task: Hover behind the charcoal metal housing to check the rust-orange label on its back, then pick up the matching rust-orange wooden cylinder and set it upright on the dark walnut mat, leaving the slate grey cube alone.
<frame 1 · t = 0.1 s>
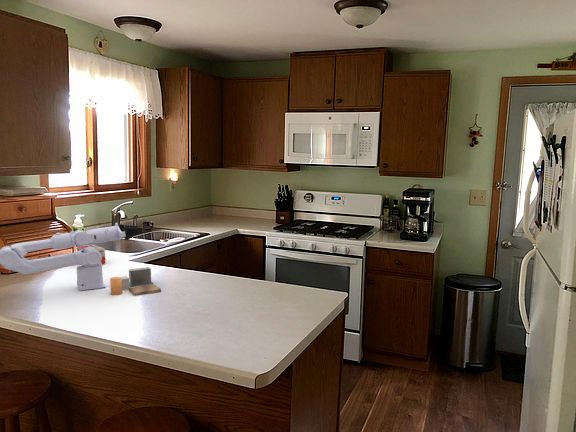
hand: (139, 229, 197), 22 cm above the countertop, tool horizontal, fingers open, 7 cm apart
medicine box: (91, 263, 234), on the countertop
housing: (140, 284, 193), on the countertop
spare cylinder: (116, 293, 180), on the countertop
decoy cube: (123, 289, 187), on the countertop
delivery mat: (144, 290, 184), on the countertop
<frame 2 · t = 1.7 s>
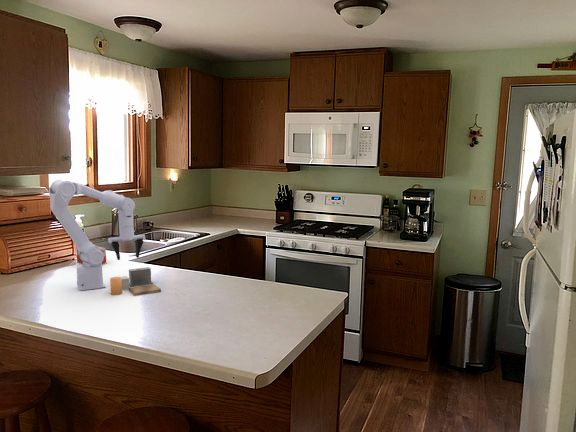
hand: (128, 258, 199), 9 cm above the countertop, tool pointing down, fingers open, 7 cm apart
nothing on the countertop moved.
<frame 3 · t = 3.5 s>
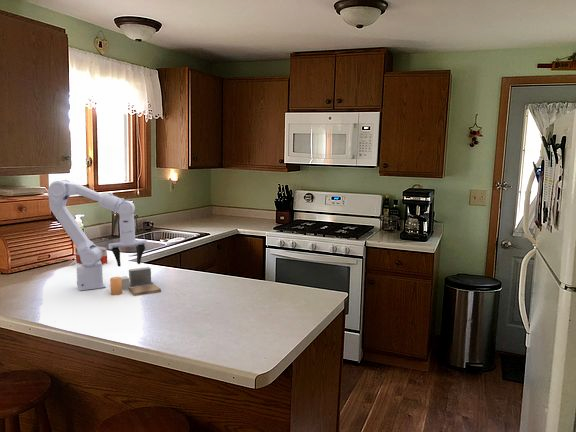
hand: (129, 264, 191), 8 cm above the countertop, tool pointing down, fingers open, 7 cm apart
nothing on the countertop moved.
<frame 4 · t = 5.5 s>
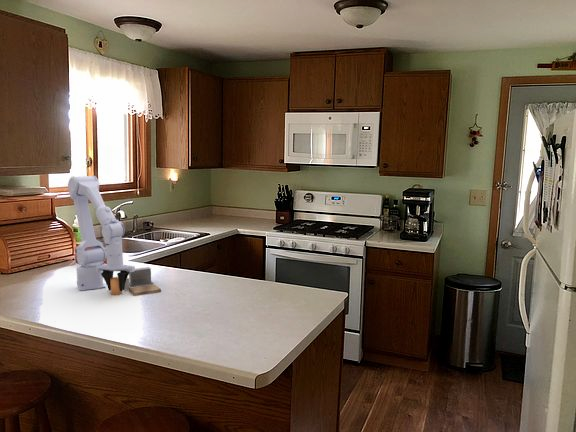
hand: (116, 289, 180), 1 cm above the countertop, tool pointing down, fingers closed on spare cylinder, 4 cm apart
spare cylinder: (116, 293, 180), on the countertop, touching gripper
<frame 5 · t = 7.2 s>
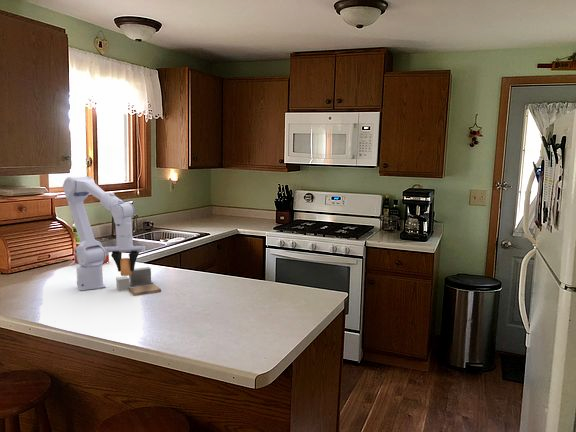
hand: (126, 270, 180), 8 cm above the countertop, tool pointing down, fingers closed on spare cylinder, 4 cm apart
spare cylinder: (126, 274, 180), point 7 cm above the countertop, touching gripper
when the fingers open (4 cm above the countertop, at t = 8.8 s): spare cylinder drops 1 cm, resting on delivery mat.
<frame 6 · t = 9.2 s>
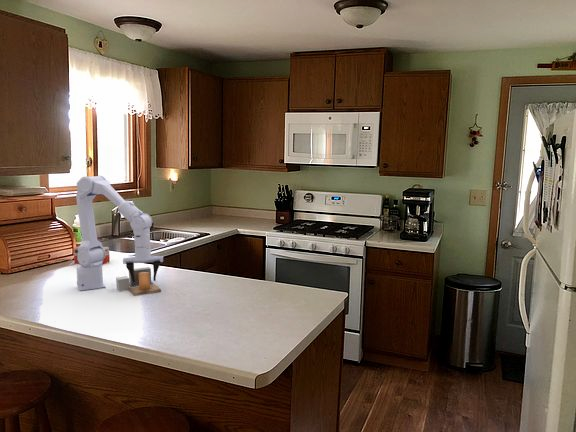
hand: (144, 281, 183), 4 cm above the countertop, tool pointing down, fingers open, 7 cm apart
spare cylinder: (144, 288, 183), point 1 cm above the countertop, touching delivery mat
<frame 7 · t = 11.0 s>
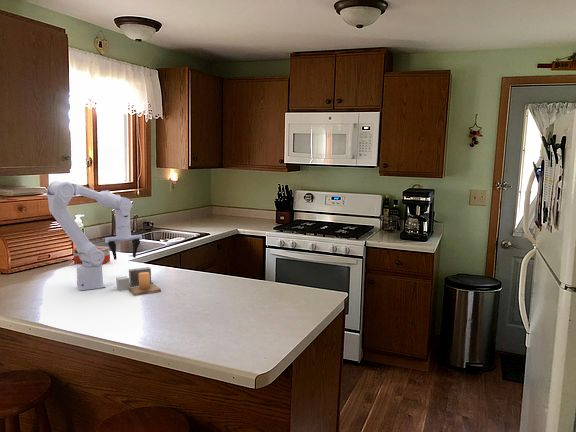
hand: (124, 258, 199), 9 cm above the countertop, tool pointing down, fingers open, 7 cm apart
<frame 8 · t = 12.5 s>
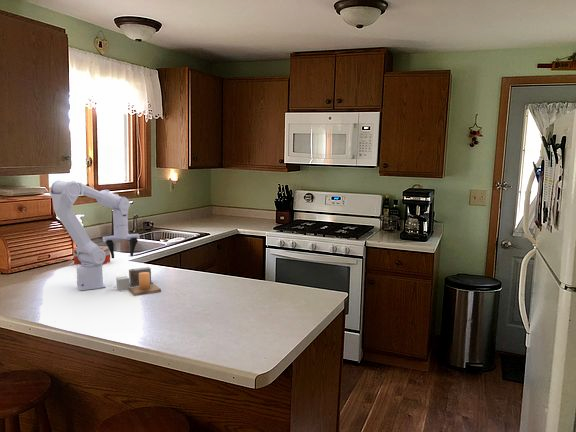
hand: (122, 256, 201), 9 cm above the countertop, tool pointing down, fingers open, 7 cm apart
at the end: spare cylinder 0.1 cm off-centre on the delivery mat, point 1.0 cm above the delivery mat's base; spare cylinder tilted 0°; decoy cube moved 0.1 cm from its start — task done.
